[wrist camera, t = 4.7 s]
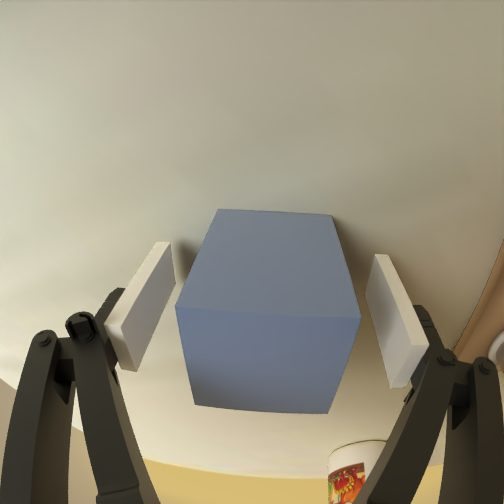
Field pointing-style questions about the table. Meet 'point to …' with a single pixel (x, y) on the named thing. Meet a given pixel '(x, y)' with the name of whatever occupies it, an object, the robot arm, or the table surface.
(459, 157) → the table surface
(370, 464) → the milk bottle
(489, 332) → the organizer
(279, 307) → the slate blue cube
